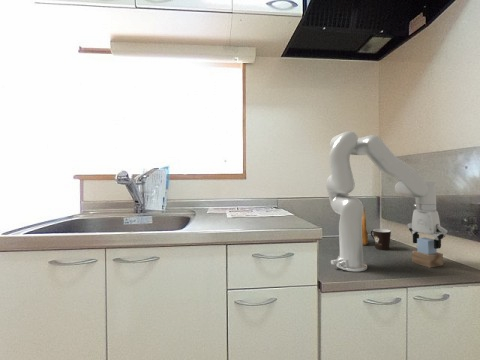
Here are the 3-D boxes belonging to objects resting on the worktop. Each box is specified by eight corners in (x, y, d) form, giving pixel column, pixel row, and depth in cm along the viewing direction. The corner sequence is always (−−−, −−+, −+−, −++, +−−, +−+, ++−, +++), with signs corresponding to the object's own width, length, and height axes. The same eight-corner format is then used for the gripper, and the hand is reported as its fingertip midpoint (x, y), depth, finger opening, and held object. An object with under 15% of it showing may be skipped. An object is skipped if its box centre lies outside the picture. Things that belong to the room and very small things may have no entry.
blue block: (428, 254, 114) (428, 241, 114) (417, 251, 119) (417, 238, 119) (436, 253, 116) (436, 239, 116) (425, 250, 121) (425, 237, 121)
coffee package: (366, 246, 147) (365, 207, 147) (343, 244, 154) (342, 207, 154) (369, 242, 155) (368, 205, 155) (347, 240, 162) (346, 205, 162)
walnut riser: (429, 267, 112) (429, 256, 112) (412, 262, 120) (412, 251, 120) (443, 265, 115) (442, 253, 115) (425, 259, 123) (424, 249, 122)
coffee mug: (394, 251, 137) (393, 232, 137) (376, 250, 139) (375, 232, 139) (385, 245, 149) (385, 227, 149) (369, 245, 150) (369, 227, 150)
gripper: (402, 206, 124) (402, 241, 124) (439, 210, 108) (440, 251, 108) (413, 205, 126) (414, 240, 127) (452, 209, 110) (453, 249, 110)
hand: (426, 245), depth 117 cm, fingers open, 9 cm apart
